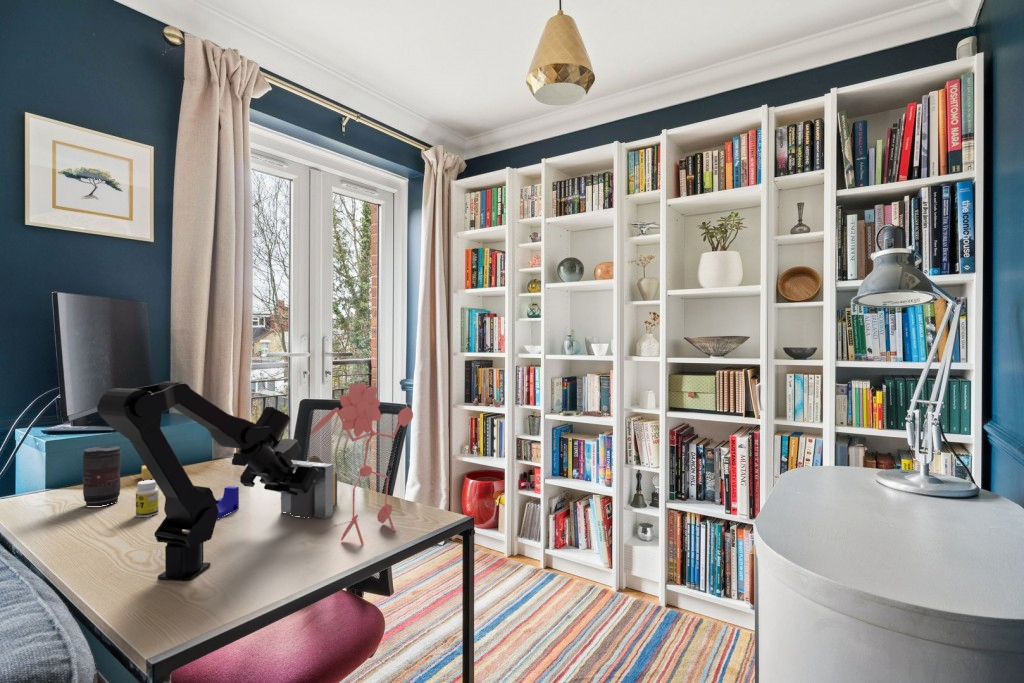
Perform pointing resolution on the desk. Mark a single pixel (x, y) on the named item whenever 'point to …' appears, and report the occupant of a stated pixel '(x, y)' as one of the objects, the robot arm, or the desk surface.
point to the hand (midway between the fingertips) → (296, 493)
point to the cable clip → (228, 501)
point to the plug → (309, 500)
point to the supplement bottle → (147, 498)
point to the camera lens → (101, 475)
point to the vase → (315, 459)
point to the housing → (316, 490)
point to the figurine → (359, 416)
